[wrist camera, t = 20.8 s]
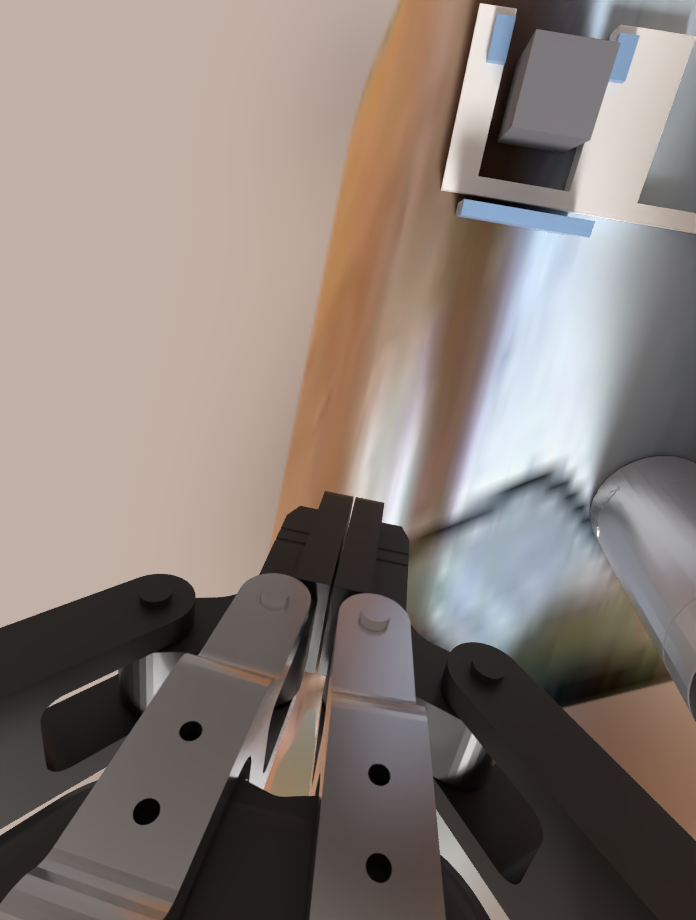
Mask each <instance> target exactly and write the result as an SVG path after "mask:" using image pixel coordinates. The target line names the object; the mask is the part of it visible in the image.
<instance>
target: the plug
mask: <svg viewBox="0 0 696 920" xmlns="http://www.w3.org/2000/svg"><path fill="white" fill-rule="evenodd" d="M619 47H620V42H614V41H608V40H601V39H595V38H589V37H583V36H576V35H570V34H564V33H558V32H552V31H545V30H539V29H536V31H535V32H534V34H533V36H532V38H531V39H530V41H529V43H528V44H527V46H526V48H525V49H524V51H523V53H522V55H521V56H520V58H519V60H518V61H517V63H516V67H515V71H514V75H513V79H512V83H511V88H510V92H509V96H508V100H507V104H506V108H505V112H504V116H503V120H502V124H501V128H500V132H499V136H498V140H497V142H499V143H504V144H510V145H516V146H522V147H528V148H534V149H539V150H545V151H551V152H557V153H564V152H566V151H568V150H571V149H573V148H575V147H577V146H579V145H581V144H583V143H585V142H587V141H589V140H591V136H592V133H593V130H594V127H595V123H596V120H597V117H598V114H599V111H600V107H601V104H602V101H603V98H604V95H605V91H606V88H607V85H608V82H609V79H610V75H611V72H612V69H613V66H614V63H615V59H616V56H617V53H618V50H619Z"/></svg>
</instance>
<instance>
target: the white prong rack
mask: <svg viewBox="0 0 696 920" xmlns="http://www.w3.org/2000/svg"><path fill="white" fill-rule="evenodd" d="M516 12H517V9H515V8H509V7H502V6H495V5H489V4H482V3H480V6H479V10H478V13H477V18H476V23H475V28H474V33H473V37H472V42H471V47H470V52H469V57H468V61H467V66H466V71H465V76H464V81H463V85H462V90H461V95H460V100H459V105H458V109H457V114H456V119H455V124H454V129H453V133H452V138H451V143H450V148H449V153H448V158H447V162H446V167H445V172H444V177H443V182H442V186H441V190H442V191H447V192H453V193H459V194H465V195H471V196H477V197H482V198H488V199H494V200H500V201H506V202H512V203H517V204H523V205H529V206H535V207H541V208H547V209H552V210H558V211H564V212H570V213H576V214H582V215H587V216H593V217H599V218H605V219H611V220H617V221H622V222H628V223H634V224H640V225H646V226H652V227H657V228H663V229H669V230H675V231H681V232H687V233H692V234H696V213H693V212H687V211H681V210H675V209H669V208H663V207H657V206H651V205H645V204H639V203H638V200H639V197H640V194H641V191H642V189H643V186H644V183H645V180H646V177H647V175H648V172H649V169H650V166H651V163H652V161H653V158H654V155H655V152H656V149H657V147H658V144H659V141H660V138H661V135H662V133H663V130H664V127H665V124H666V121H667V118H668V116H669V113H670V110H671V107H672V104H673V102H674V99H675V96H676V93H677V90H678V88H679V85H680V82H681V79H682V76H683V74H684V71H685V68H686V65H687V62H688V60H689V57H690V54H691V51H692V48H693V46H694V43H695V40H696V36H693V35H686V34H680V33H673V32H667V31H660V30H653V29H647V28H640V27H634V26H627V25H621V24H620V25H619V26H618V27H617V28H616V29H615V30H614V31H613V32H612V33H611V35H610V38H609V41H614V42H620V47H619V50H618V53H617V56H616V59H615V63H614V66H613V69H612V72H611V75H610V79H609V82H608V85H607V88H606V91H605V95H604V98H603V101H602V104H601V107H600V111H599V114H598V117H597V120H596V123H595V127H594V130H593V133H592V136H591V140H589V141H587V142H585V143H583V144H581V145H579V146H577V149H576V152H575V155H574V159H573V162H572V165H571V169H570V172H569V175H568V179H567V182H566V185H565V189H564V191H563V190H557V189H551V188H545V187H539V186H533V185H527V184H521V183H515V182H510V181H504V180H498V179H492V178H486V177H480V176H478V174H479V170H480V166H481V162H482V157H483V153H484V149H485V144H486V140H487V136H488V132H489V127H490V123H491V119H492V114H493V110H494V106H495V102H496V97H497V93H498V89H499V85H500V80H501V76H502V72H503V67H504V64H505V62H506V58H507V54H508V49H509V45H510V41H511V37H512V32H513V28H514V24H515V20H516ZM455 216H459V217H465V218H470V219H476V220H482V221H488V222H493V223H499V224H505V225H511V226H516V227H522V228H528V229H534V230H539V231H545V232H551V233H557V234H562V235H571V236H581V237H590V235H591V232H592V229H593V226H594V223H595V221H590V220H584V219H578V218H573V217H567V216H561V215H555V214H549V213H543V212H538V211H532V210H526V209H520V208H514V207H509V206H503V205H497V204H491V203H485V202H480V201H474V200H468V199H463V200H462V201H460V202H458V205H457V209H456V214H455Z"/></svg>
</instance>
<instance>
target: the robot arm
mask: <svg viewBox="0 0 696 920" xmlns="http://www.w3.org/2000/svg"><path fill="white" fill-rule="evenodd" d="M352 503H353V497H352V496H347V495H343V494H338V493H333V492H328V491H325V493H324V495H323V498H322V501H321V503H320V506H319V509H313V508H308V507H303V506H299V507H298V508H297V509H295V510H294V511H292V512H291V513H289V514H288V515H287V516H286V518H285V521H284V523H283V525H282V527H281V530H280V531H279V533H278V536H277V538H276V540H275V542H274V544H273V546H272V548H271V551H270V553H269V555H268V557H267V559H266V561H265V563H264V566H263V568H262V570H261V572H260V574H259V575H258V576H255V577H253V578H251V579H249V580H248V581H246V582H245V583H244V584H243V586H242V587H241V588H240V590H239V592H238V593H237V594H235V595H232V596H226V597H218V598H195V592H194V589H193V587H192V586H191V585H190V584H189V583H188V582H187V581H185V580H184V579H182V578H180V577H177V576H173V575H168V574H152V575H146V576H143V577H139V578H136V579H134V580H131V581H128V582H126V583H123V584H120V585H117V586H115V587H112V588H109V589H106V590H104V591H101V592H98V593H95V594H93V595H90V596H87V597H84V598H81V599H79V600H76V601H73V602H70V603H68V604H65V605H62V606H59V607H57V608H54V609H51V610H48V611H46V612H43V613H40V614H37V615H35V616H32V617H29V618H26V619H24V620H21V621H18V622H15V623H13V624H10V625H7V626H5V627H2V628H0V829H1V828H3V827H5V826H7V825H8V824H10V823H11V822H13V821H15V820H17V819H19V818H20V817H22V816H23V815H25V814H27V813H28V812H30V811H32V810H34V809H35V808H37V807H39V806H41V805H42V804H44V803H46V802H47V801H49V800H51V799H52V798H54V797H56V796H57V795H59V794H61V793H63V792H64V791H66V790H68V789H70V788H71V787H73V786H74V785H76V784H78V783H80V782H81V781H83V780H85V779H87V778H88V777H90V776H92V775H93V774H95V773H97V772H98V771H100V770H102V769H104V768H105V767H107V768H106V769H105V771H104V772H103V774H102V775H101V777H100V778H99V780H97V781H95V782H92V783H90V784H87V785H85V786H83V787H80V788H78V789H76V790H74V791H72V792H70V793H68V794H66V795H65V796H63V797H61V798H60V799H58V800H56V801H55V802H53V803H52V804H50V805H48V806H47V807H45V808H44V809H42V810H41V811H39V812H37V813H35V814H34V815H33V816H31V817H29V818H28V819H26V820H24V821H23V822H21V823H20V824H18V825H17V826H15V827H13V828H12V829H10V830H9V831H7V832H5V833H4V834H2V835H1V836H0V920H490V918H489V916H488V914H487V913H486V911H485V910H484V908H483V906H482V905H481V903H480V901H479V900H478V899H477V897H476V895H475V894H474V892H473V891H472V890H471V888H470V887H469V886H468V884H467V883H466V882H465V880H464V879H463V878H462V876H461V875H460V874H459V873H458V872H457V871H456V870H455V869H454V868H453V867H452V865H451V864H450V863H449V862H448V861H447V860H446V859H444V858H443V857H442V856H441V855H440V850H439V841H438V840H439V839H438V829H437V817H436V809H437V811H438V812H439V814H440V816H441V817H442V818H443V820H444V822H445V823H446V825H447V826H448V828H449V829H450V831H451V832H452V833H453V835H454V837H455V838H456V839H457V841H458V843H459V844H460V846H461V847H462V849H463V850H464V852H465V853H466V855H467V856H468V858H469V859H470V861H471V862H472V863H473V865H474V867H475V868H476V870H477V871H478V873H479V874H480V876H481V877H482V879H483V880H484V882H485V883H486V885H487V886H488V888H489V889H490V891H491V892H492V894H493V895H494V897H495V898H496V900H497V901H498V903H499V904H500V906H501V907H502V909H503V910H504V912H505V913H506V915H507V916H508V918H509V919H510V920H696V841H695V840H694V839H693V838H692V837H691V836H690V835H689V834H688V833H687V832H686V831H685V830H684V829H683V828H682V827H681V826H680V825H679V824H678V823H677V822H676V821H675V820H674V819H673V818H672V817H671V816H670V815H669V814H668V813H667V812H666V811H665V810H664V809H663V808H662V807H661V806H660V805H659V804H658V803H657V802H656V801H655V800H654V799H653V798H652V797H651V796H650V795H649V794H648V793H647V792H646V791H645V790H644V789H643V788H642V787H641V786H640V785H639V784H638V783H637V782H636V781H635V780H634V779H633V778H632V777H631V776H630V775H629V774H628V773H627V772H626V771H625V770H624V769H623V768H622V767H621V766H620V765H619V764H618V763H617V762H616V761H614V759H612V757H611V756H610V755H609V754H608V753H607V752H606V751H605V750H603V748H602V747H601V746H599V744H598V743H597V742H595V741H594V740H593V739H592V738H591V737H590V736H589V735H588V734H587V733H586V732H585V731H584V730H583V729H582V728H581V727H580V726H579V725H578V724H577V723H576V722H575V721H574V720H573V719H572V718H571V717H570V716H569V715H568V714H567V713H566V712H565V711H564V710H563V709H562V708H561V707H560V706H559V705H558V704H557V703H556V702H555V701H554V700H553V699H552V698H551V697H550V696H549V695H548V694H547V693H546V692H545V691H544V690H543V689H542V688H541V687H540V686H539V685H538V684H537V683H536V682H535V681H534V680H533V679H532V678H531V677H530V676H529V675H528V674H527V673H526V672H525V671H524V670H523V669H522V668H521V667H520V666H519V665H518V664H517V663H516V662H515V661H514V660H513V659H512V658H510V657H509V656H508V655H507V654H505V653H504V652H502V651H501V650H499V649H497V648H495V647H492V646H490V645H486V644H483V643H475V642H470V643H463V644H460V645H458V646H456V647H455V648H454V649H452V651H451V652H449V651H447V650H445V649H442V648H440V647H438V646H436V645H434V644H432V643H431V642H429V641H427V640H426V639H424V638H423V637H422V636H421V635H419V634H418V633H417V632H416V631H415V629H414V628H413V627H412V625H411V624H410V619H409V617H408V614H407V613H406V601H407V579H408V558H409V556H408V555H409V539H408V537H407V535H406V534H405V532H404V530H403V528H402V527H401V526H396V525H391V524H386V523H382V516H383V509H384V503H382V502H377V501H372V500H367V499H363V498H358V497H356V499H355V503H354V507H353V511H352V515H351V519H350V514H351V509H352ZM349 520H350V523H349ZM590 522H591V526H592V530H593V532H594V534H595V536H596V538H597V540H598V542H599V543H600V545H601V547H602V549H603V551H604V553H605V555H606V557H607V559H608V560H609V563H610V565H611V566H612V568H613V570H614V572H615V574H616V576H617V578H618V579H619V581H620V583H621V585H622V587H623V589H624V591H625V592H626V594H627V596H628V598H629V600H630V602H631V604H632V605H633V607H634V609H635V611H636V613H637V615H638V617H639V618H640V620H641V622H642V624H643V626H644V628H645V629H646V631H647V633H648V635H649V637H650V639H651V641H652V642H653V644H654V646H655V648H656V650H657V652H658V654H659V655H660V657H661V659H662V661H663V663H664V665H665V667H666V668H667V670H668V672H669V674H670V675H671V677H672V679H673V681H674V683H675V685H676V687H677V688H678V690H679V692H680V694H681V696H682V697H683V699H684V701H685V703H686V705H687V707H688V709H689V710H690V712H691V714H692V716H693V718H694V719H695V721H696V463H694V462H692V461H690V460H687V459H684V458H679V457H674V456H655V457H649V458H644V459H641V460H638V461H635V462H632V463H630V464H628V465H626V466H624V467H622V468H620V469H619V470H617V471H616V472H615V473H613V474H612V475H611V476H610V477H608V478H607V479H606V481H605V482H604V483H603V484H602V485H601V486H600V487H599V489H598V491H597V493H596V495H595V496H594V498H593V501H592V505H591V508H590ZM348 525H349V527H348ZM347 530H348V531H347ZM327 620H328V621H327ZM326 625H327V627H326ZM325 629H326V632H325ZM324 633H325V638H324V643H323V648H322V654H321V659H320V665H319V670H318V674H319V675H324V676H326V679H325V685H324V690H323V695H322V700H321V706H320V711H319V718H318V726H317V734H316V742H315V750H314V758H313V767H312V775H311V783H310V791H309V796H294V797H279V796H275V795H272V794H270V793H268V792H266V791H265V790H263V789H264V786H265V783H266V780H267V777H268V775H269V772H270V769H271V767H272V764H273V761H274V758H275V756H276V753H277V750H278V747H279V745H280V742H281V739H282V736H283V734H284V731H285V728H286V725H287V723H288V720H289V717H290V714H291V712H292V709H293V706H294V702H295V697H296V694H297V692H298V691H299V688H300V686H301V682H302V678H303V674H304V671H305V672H309V673H314V674H315V670H316V666H317V662H318V658H319V653H320V649H321V645H322V641H323V637H324ZM116 670H118V672H119V674H117V675H115V676H113V677H111V678H109V679H107V680H105V681H103V682H101V683H99V684H97V685H94V686H92V687H90V688H88V689H86V690H84V691H82V692H80V693H78V694H76V695H74V696H71V697H69V698H67V699H66V700H63V701H61V702H59V703H57V704H55V705H53V706H51V707H48V706H49V705H50V704H51V703H53V702H54V701H55V700H56V699H58V698H59V697H61V696H63V695H65V694H67V693H69V692H72V691H73V690H76V689H78V688H80V687H82V686H84V685H86V684H88V683H91V682H93V681H95V680H97V679H99V678H101V677H103V676H105V675H108V674H110V673H112V672H114V671H116ZM47 707H48V708H47Z"/></svg>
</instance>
